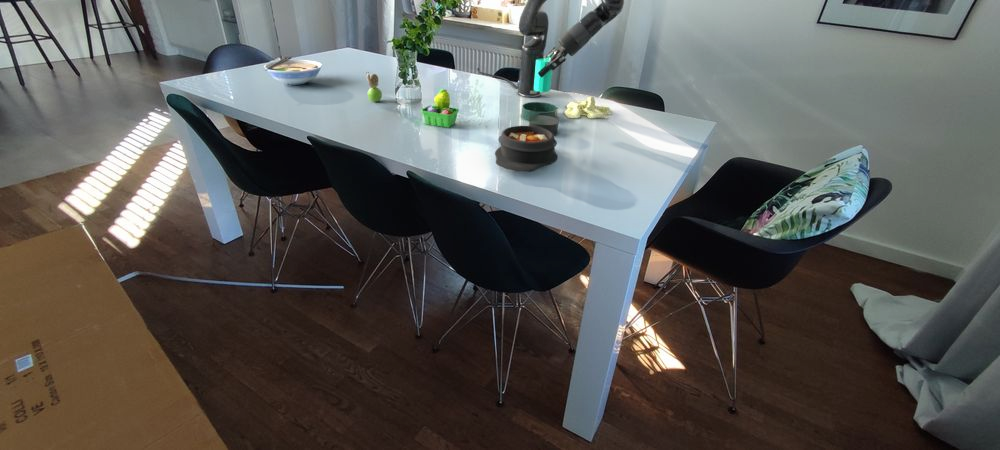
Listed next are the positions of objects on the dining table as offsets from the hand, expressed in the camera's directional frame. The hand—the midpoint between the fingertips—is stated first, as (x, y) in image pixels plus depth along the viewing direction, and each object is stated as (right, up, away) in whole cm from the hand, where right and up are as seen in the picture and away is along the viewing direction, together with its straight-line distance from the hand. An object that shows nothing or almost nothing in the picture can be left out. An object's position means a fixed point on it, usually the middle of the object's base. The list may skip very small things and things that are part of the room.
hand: (538, 73), depth 171 cm
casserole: (-6, -36, -29) cm, 47 cm away
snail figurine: (-63, -6, +16) cm, 65 cm away
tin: (+1, -14, +8) cm, 16 cm away
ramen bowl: (-101, +7, +34) cm, 107 cm away
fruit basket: (-34, -19, -3) cm, 39 cm away
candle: (+2, -5, +3) cm, 6 cm away
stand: (+1, -22, -6) cm, 23 cm away
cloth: (+20, -10, +16) cm, 28 cm away
